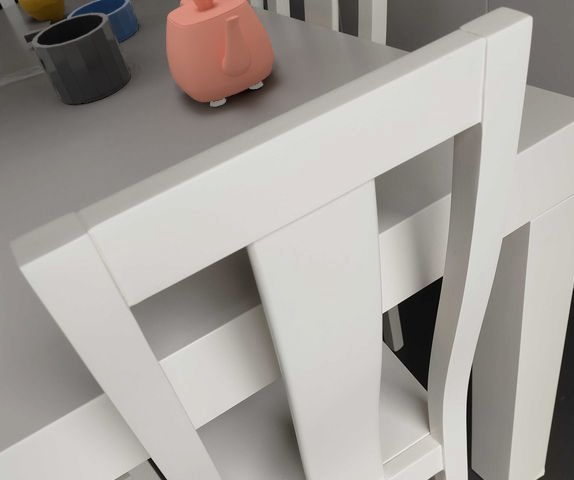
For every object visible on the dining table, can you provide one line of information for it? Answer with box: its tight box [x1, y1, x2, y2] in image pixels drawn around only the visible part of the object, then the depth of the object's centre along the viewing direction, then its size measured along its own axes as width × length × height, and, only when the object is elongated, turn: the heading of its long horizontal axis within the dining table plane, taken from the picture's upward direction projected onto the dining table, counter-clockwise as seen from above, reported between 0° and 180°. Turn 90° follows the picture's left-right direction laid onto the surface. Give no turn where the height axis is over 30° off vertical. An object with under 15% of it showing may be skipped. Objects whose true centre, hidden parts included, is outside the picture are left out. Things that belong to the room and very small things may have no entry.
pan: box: [66, 0, 140, 43], centre depth 106 cm, size 12×12×4 cm
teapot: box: [165, 0, 275, 103], centre depth 77 cm, size 13×20×12 cm, turn 27°
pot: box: [31, 13, 132, 105], centre depth 90 cm, size 12×12×8 cm
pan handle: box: [23, 24, 51, 44], centre depth 105 cm, size 8×2×1 cm, turn 102°
